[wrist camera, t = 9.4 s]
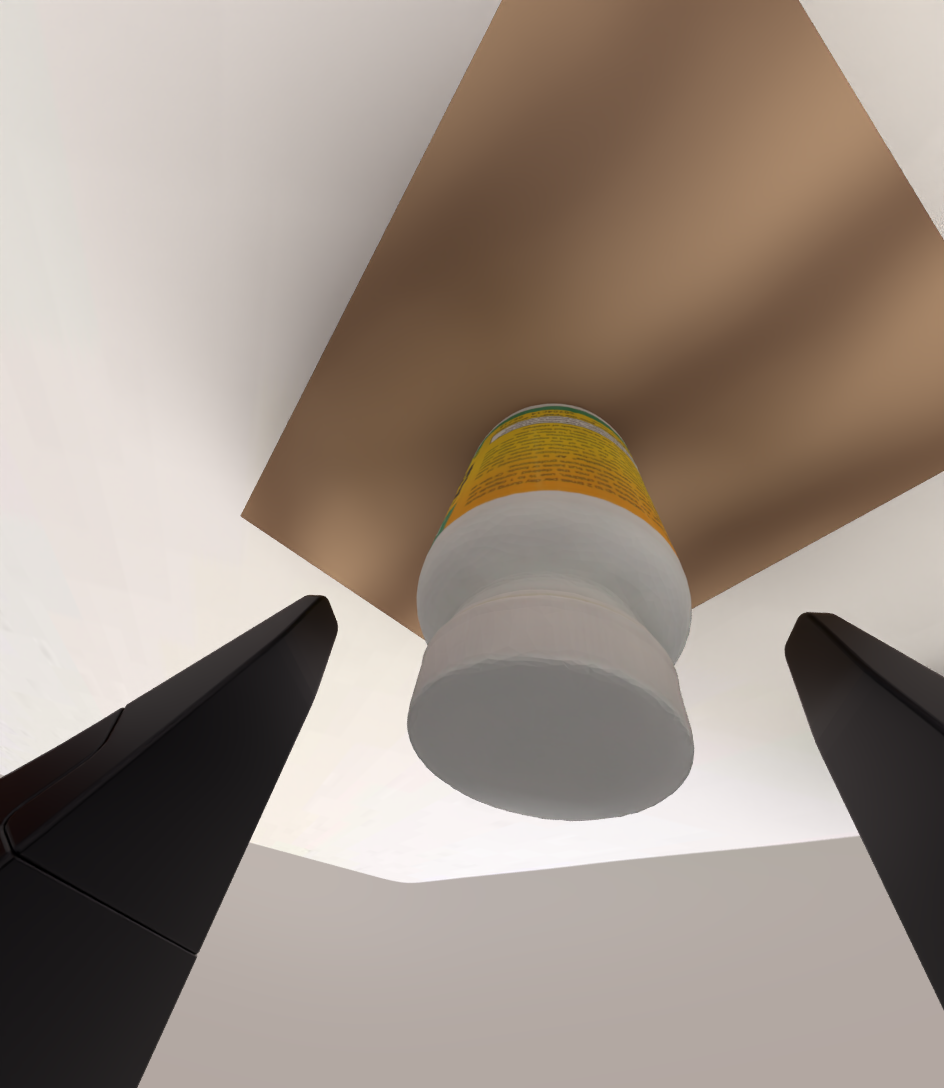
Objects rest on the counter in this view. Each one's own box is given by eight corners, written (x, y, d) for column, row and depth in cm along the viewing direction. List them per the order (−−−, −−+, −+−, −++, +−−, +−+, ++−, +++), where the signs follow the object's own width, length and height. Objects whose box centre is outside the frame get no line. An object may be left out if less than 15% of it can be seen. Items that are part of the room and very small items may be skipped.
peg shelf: (980, 394, 12) (1048, 413, 10) (521, 672, 22) (519, 703, 21) (619, -156, 8) (637, -267, 6) (268, 494, 18) (240, 516, 17)
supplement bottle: (626, 543, 14) (714, 864, 6) (481, 547, 16) (407, 823, 8) (638, 388, 11) (824, 625, 4) (460, 406, 13) (305, 616, 5)
